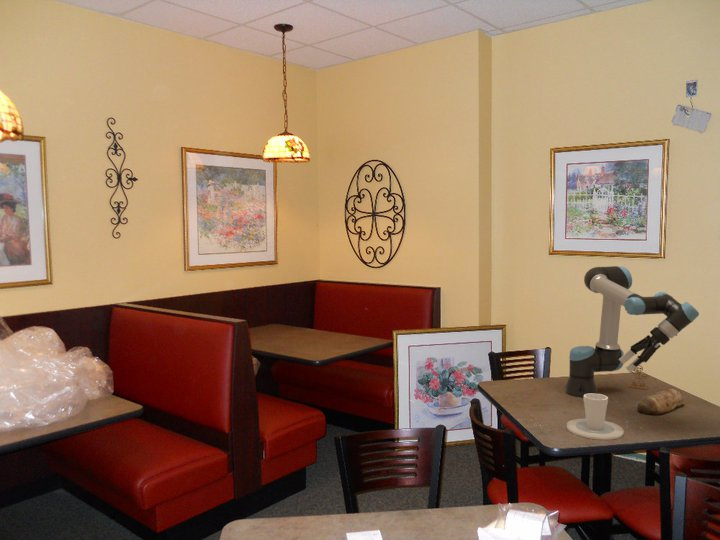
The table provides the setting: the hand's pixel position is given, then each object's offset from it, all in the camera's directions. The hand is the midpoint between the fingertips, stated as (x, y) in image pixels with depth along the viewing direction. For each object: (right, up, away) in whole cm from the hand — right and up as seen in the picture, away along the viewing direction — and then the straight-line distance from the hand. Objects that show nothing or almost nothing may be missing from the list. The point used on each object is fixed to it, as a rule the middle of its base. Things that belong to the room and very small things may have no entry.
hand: (624, 365), depth 248 cm
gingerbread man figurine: (+32, -20, +53) cm, 65 cm away
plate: (-16, -26, -7) cm, 31 cm away
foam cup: (-16, -25, -7) cm, 30 cm away
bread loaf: (+27, -24, +21) cm, 41 cm away
